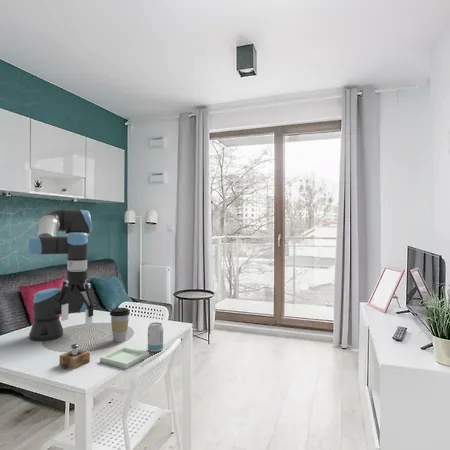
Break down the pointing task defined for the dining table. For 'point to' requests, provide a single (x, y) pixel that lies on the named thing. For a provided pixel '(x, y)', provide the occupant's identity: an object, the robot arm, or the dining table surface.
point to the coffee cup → (119, 323)
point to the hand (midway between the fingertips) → (76, 322)
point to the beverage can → (155, 337)
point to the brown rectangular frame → (74, 359)
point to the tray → (124, 357)
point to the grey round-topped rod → (74, 349)
